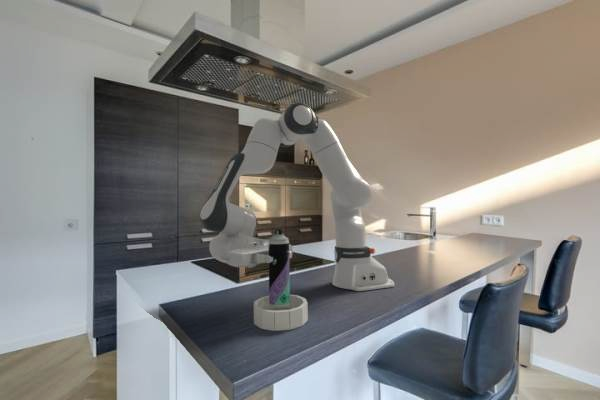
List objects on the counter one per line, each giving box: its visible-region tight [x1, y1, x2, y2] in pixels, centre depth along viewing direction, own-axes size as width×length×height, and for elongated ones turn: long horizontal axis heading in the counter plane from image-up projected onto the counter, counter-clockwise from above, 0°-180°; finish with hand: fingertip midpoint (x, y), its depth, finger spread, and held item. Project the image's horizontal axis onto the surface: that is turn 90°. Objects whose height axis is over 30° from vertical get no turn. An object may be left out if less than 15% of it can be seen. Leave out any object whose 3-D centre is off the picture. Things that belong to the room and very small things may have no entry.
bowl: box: [253, 293, 309, 332], centre depth 79 cm, size 14×14×4 cm
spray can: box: [268, 229, 291, 308], centre depth 79 cm, size 6×6×20 cm
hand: (281, 257), depth 78 cm, fingers closed on spray can, 5 cm apart
